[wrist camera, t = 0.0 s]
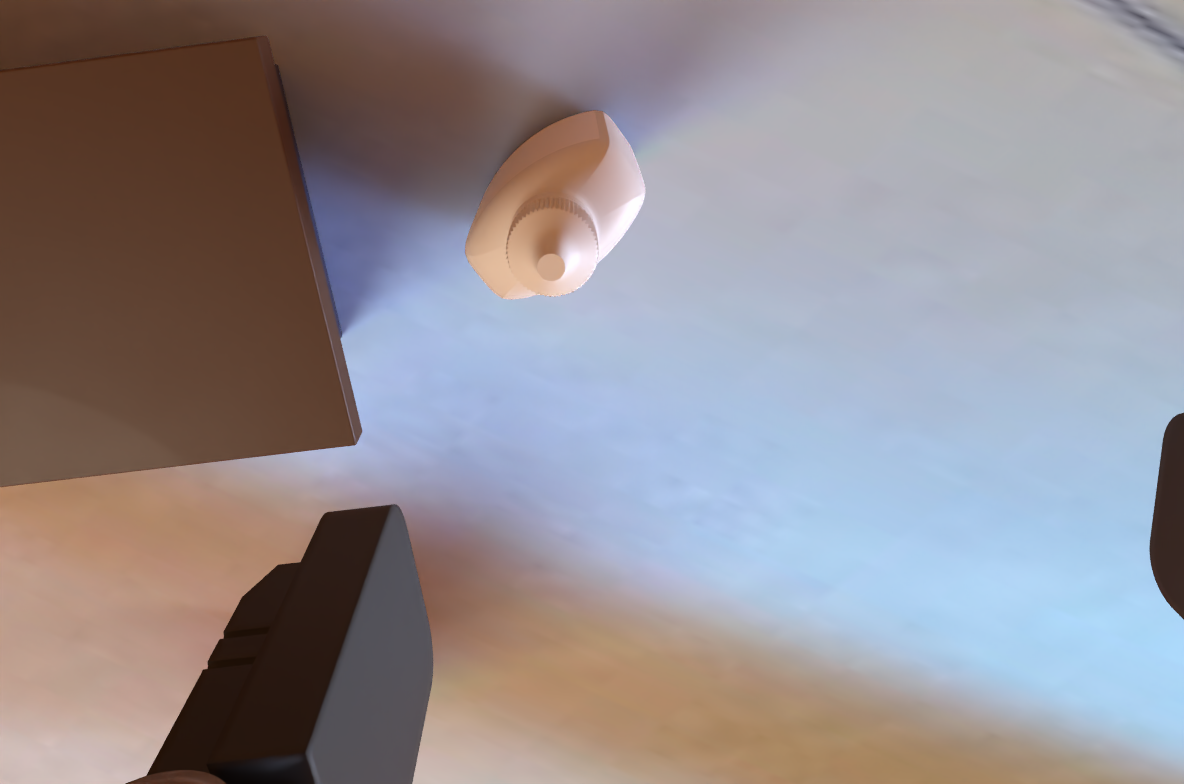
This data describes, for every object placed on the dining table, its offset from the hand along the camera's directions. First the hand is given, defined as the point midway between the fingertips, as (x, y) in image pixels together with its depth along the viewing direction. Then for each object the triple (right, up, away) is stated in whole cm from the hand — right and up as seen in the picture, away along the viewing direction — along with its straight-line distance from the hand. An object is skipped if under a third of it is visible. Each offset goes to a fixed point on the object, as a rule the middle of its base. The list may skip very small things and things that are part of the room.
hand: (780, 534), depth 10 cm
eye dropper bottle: (-3, +9, +24) cm, 26 cm away
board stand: (-21, +7, +25) cm, 33 cm away
